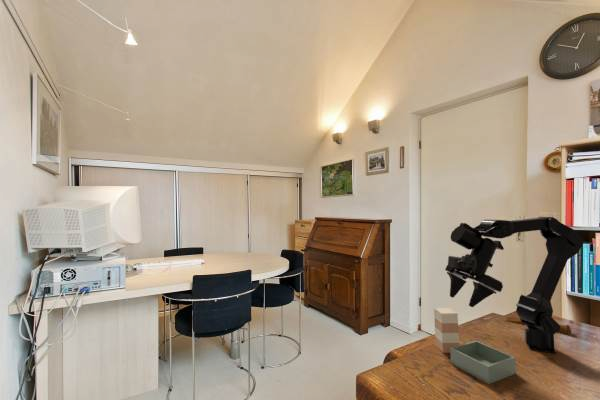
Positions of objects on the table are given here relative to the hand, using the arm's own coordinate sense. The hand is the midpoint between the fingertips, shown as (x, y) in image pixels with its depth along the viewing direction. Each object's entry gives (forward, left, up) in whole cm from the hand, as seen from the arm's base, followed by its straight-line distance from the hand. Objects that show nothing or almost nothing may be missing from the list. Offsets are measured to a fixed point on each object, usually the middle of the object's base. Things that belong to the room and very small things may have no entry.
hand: (460, 301), depth 89 cm
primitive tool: (-24, -35, -16) cm, 45 cm away
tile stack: (+4, -1, -16) cm, 16 cm away
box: (-5, +7, -16) cm, 18 cm away
